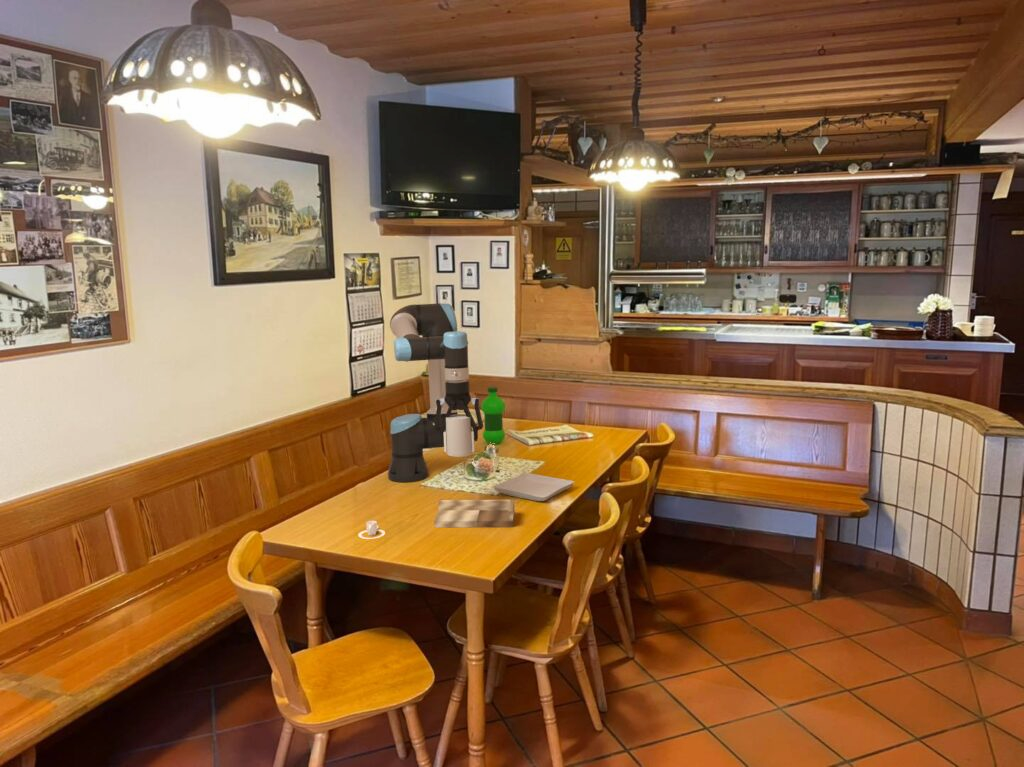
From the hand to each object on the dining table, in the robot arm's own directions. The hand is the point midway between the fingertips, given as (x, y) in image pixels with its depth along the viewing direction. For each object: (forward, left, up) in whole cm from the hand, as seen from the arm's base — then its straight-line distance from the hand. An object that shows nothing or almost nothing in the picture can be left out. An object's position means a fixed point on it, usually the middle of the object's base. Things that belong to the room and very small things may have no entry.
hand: (459, 450), depth 236 cm
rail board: (+5, -10, -20) cm, 23 cm away
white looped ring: (-22, -19, -21) cm, 36 cm away
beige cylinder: (0, 0, -1) cm, 1 cm away
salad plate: (+23, +19, -21) cm, 37 cm away
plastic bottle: (+4, +90, -20) cm, 93 cm away
